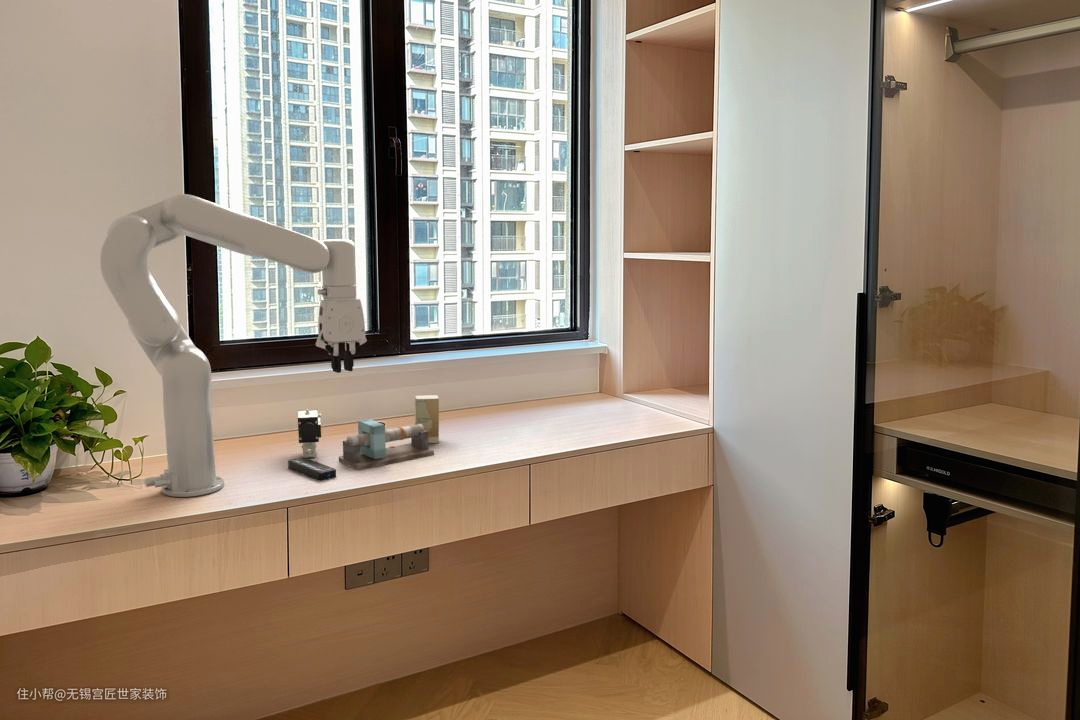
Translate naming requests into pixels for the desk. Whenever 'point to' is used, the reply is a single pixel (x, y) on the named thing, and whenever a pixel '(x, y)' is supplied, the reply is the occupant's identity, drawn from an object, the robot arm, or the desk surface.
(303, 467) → the multiport hub
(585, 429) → the desk surface
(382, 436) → the collar
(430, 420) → the skincare box
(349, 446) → the pipe stand
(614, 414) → the desk surface
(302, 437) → the pneumatic valve
